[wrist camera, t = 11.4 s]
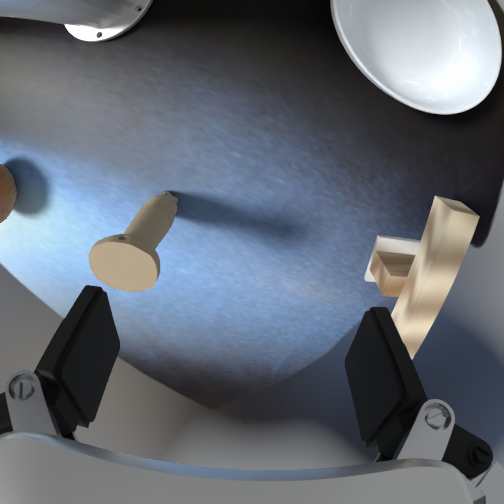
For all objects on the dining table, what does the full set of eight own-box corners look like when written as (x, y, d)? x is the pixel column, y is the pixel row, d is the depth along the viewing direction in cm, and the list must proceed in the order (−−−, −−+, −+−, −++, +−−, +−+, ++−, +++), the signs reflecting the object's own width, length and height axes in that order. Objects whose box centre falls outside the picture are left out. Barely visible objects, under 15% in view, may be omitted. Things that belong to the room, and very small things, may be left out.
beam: (434, 195, 29) (453, 210, 25) (460, 201, 29) (479, 216, 25) (372, 353, 41) (379, 373, 37) (396, 352, 41) (403, 372, 37)
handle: (143, 181, 36) (85, 238, 23) (192, 186, 36) (156, 247, 23) (143, 217, 38) (93, 285, 26) (191, 222, 39) (158, 296, 26)
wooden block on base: (377, 234, 39) (395, 261, 33) (430, 241, 39) (452, 267, 33) (364, 277, 42) (377, 308, 37) (415, 281, 43) (432, 309, 37)
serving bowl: (483, 100, 28) (515, 108, 22) (347, 120, 32) (366, 128, 26) (443, -39, 18) (470, -52, 13) (293, -39, 22) (300, -62, 16)
